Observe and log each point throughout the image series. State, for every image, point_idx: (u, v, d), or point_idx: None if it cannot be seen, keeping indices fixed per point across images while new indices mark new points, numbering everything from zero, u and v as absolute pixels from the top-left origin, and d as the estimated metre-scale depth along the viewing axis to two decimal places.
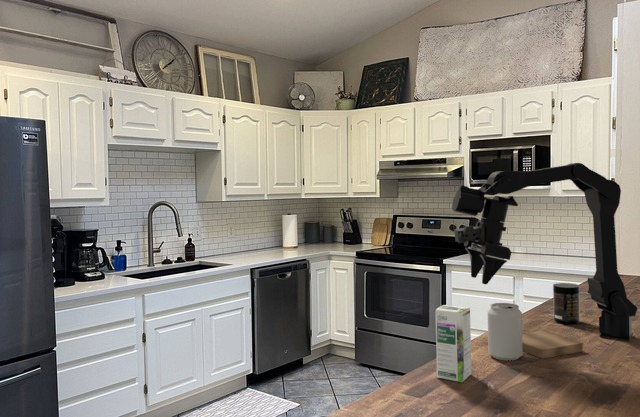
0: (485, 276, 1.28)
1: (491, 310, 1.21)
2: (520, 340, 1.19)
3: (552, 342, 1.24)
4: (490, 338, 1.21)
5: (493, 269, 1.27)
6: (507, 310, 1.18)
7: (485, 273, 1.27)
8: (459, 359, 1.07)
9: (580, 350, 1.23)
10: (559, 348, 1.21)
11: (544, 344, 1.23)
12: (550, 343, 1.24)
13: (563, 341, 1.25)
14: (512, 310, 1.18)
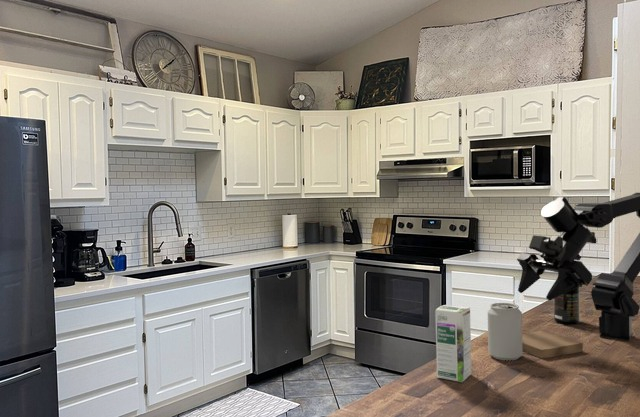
0: (553, 292, 1.19)
1: (491, 310, 1.21)
2: (520, 340, 1.19)
3: (552, 342, 1.24)
4: (490, 338, 1.21)
5: (564, 288, 1.20)
6: (507, 310, 1.18)
7: (555, 288, 1.19)
8: (459, 359, 1.07)
9: (580, 350, 1.23)
10: (559, 348, 1.21)
11: (544, 344, 1.23)
12: (550, 343, 1.24)
13: (563, 341, 1.25)
14: (512, 310, 1.18)
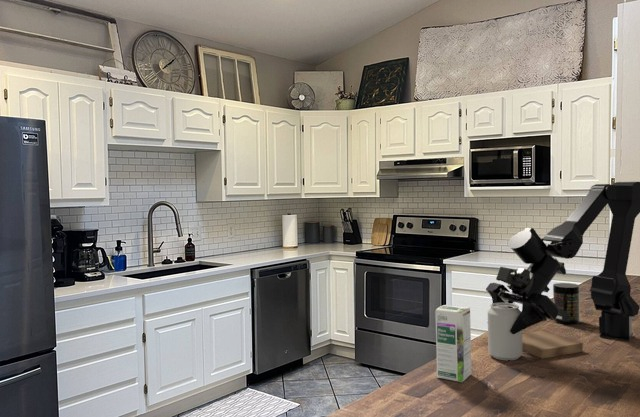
0: (517, 325, 1.17)
1: (491, 310, 1.21)
2: (520, 340, 1.19)
3: (552, 342, 1.24)
4: (490, 338, 1.21)
5: (528, 322, 1.17)
6: (507, 310, 1.18)
7: (519, 322, 1.17)
8: (459, 359, 1.07)
9: (580, 350, 1.23)
10: (559, 348, 1.21)
11: (544, 344, 1.23)
12: (550, 343, 1.24)
13: (563, 341, 1.25)
14: (512, 310, 1.18)
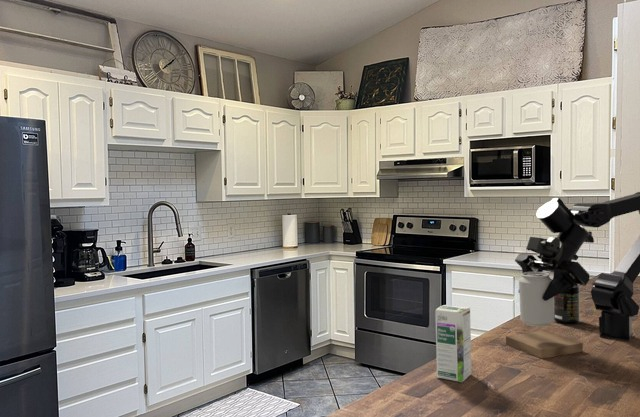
0: (549, 292, 1.21)
1: (522, 278, 1.25)
2: (552, 306, 1.23)
3: (552, 342, 1.24)
4: (522, 306, 1.25)
5: (559, 289, 1.21)
6: (539, 278, 1.22)
7: (551, 289, 1.21)
8: (459, 359, 1.07)
9: (580, 350, 1.23)
10: (559, 348, 1.21)
11: (544, 344, 1.23)
12: (550, 343, 1.24)
13: (563, 341, 1.25)
14: (543, 277, 1.22)
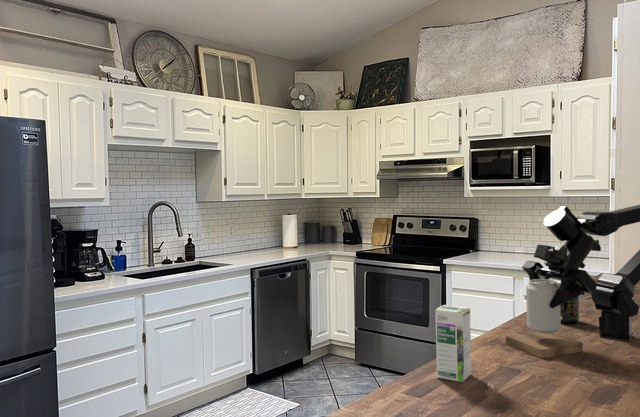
0: (556, 300, 1.22)
1: (530, 286, 1.26)
2: (558, 314, 1.24)
3: (552, 342, 1.24)
4: (529, 312, 1.26)
5: (566, 296, 1.22)
6: (546, 285, 1.23)
7: (558, 297, 1.22)
8: (459, 359, 1.07)
9: (580, 350, 1.23)
10: (559, 348, 1.21)
11: (544, 344, 1.23)
12: (550, 343, 1.24)
13: (563, 341, 1.25)
14: (551, 285, 1.23)
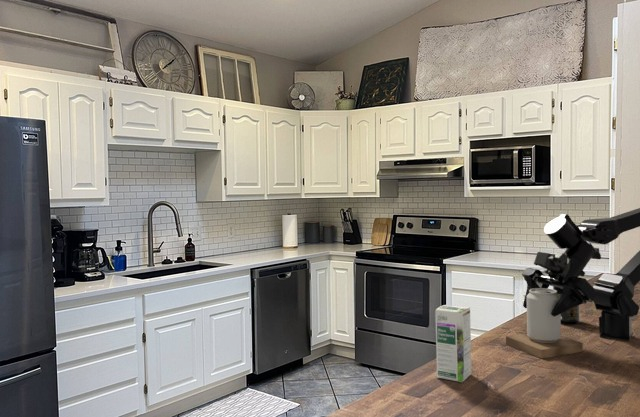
0: (558, 308, 1.21)
1: (530, 295, 1.26)
2: (559, 323, 1.24)
3: None
4: (529, 322, 1.26)
5: (568, 305, 1.22)
6: (546, 294, 1.23)
7: (560, 305, 1.21)
8: (459, 359, 1.07)
9: (580, 350, 1.23)
10: (559, 348, 1.21)
11: (544, 344, 1.23)
12: (550, 343, 1.24)
13: (563, 341, 1.25)
14: (551, 294, 1.24)
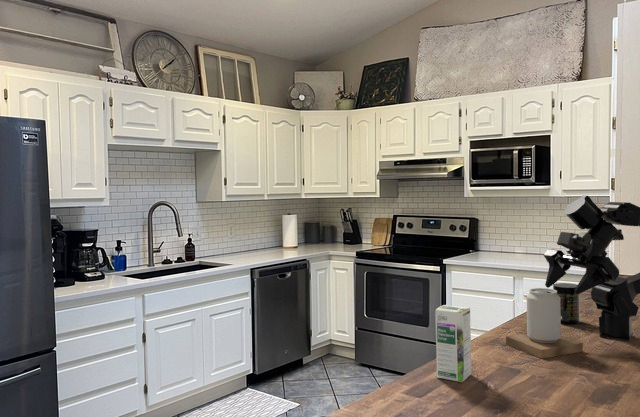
0: (581, 286, 1.24)
1: (530, 295, 1.26)
2: (559, 323, 1.24)
3: None
4: (529, 322, 1.26)
5: (591, 283, 1.24)
6: (546, 294, 1.23)
7: (583, 283, 1.23)
8: (459, 359, 1.07)
9: (580, 350, 1.23)
10: (559, 348, 1.21)
11: (544, 344, 1.23)
12: (550, 343, 1.24)
13: (563, 341, 1.25)
14: (551, 294, 1.23)
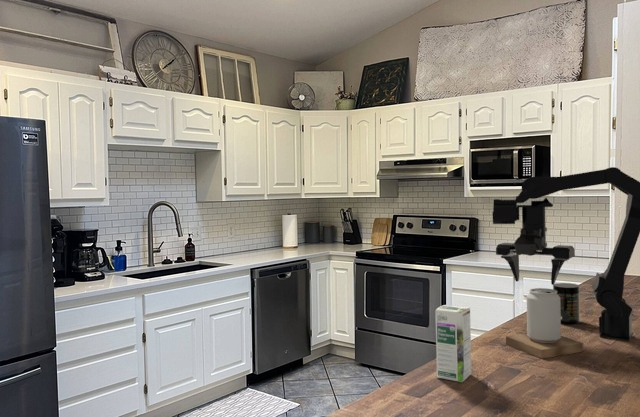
0: (555, 277, 1.36)
1: (530, 295, 1.26)
2: (559, 323, 1.24)
3: None
4: (529, 322, 1.26)
5: (558, 268, 1.37)
6: (546, 294, 1.23)
7: (555, 275, 1.36)
8: (459, 359, 1.07)
9: (580, 350, 1.23)
10: (559, 348, 1.21)
11: (544, 344, 1.23)
12: (550, 343, 1.24)
13: (563, 341, 1.25)
14: (551, 294, 1.23)
